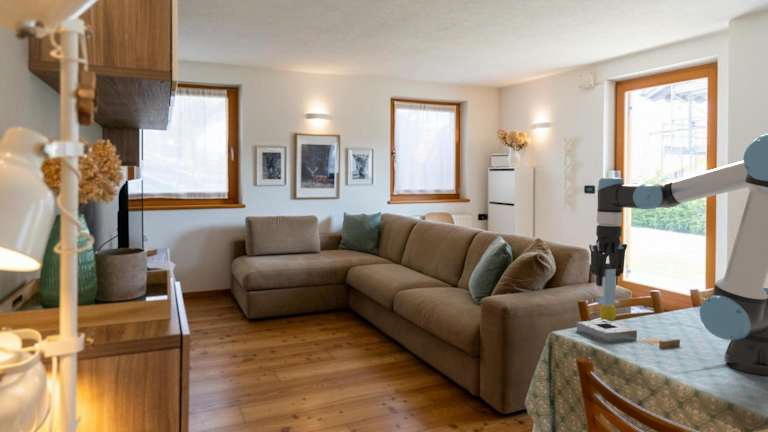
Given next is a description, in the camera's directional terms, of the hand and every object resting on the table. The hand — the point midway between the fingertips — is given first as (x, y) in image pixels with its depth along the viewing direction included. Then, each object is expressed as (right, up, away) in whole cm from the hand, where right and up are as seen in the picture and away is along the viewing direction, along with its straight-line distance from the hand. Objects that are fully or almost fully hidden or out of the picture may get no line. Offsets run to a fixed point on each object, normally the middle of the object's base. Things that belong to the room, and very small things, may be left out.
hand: (606, 295), depth 170 cm
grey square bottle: (0, -3, 0) cm, 3 cm away
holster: (+13, -15, -8) cm, 21 cm away
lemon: (+8, -13, +18) cm, 24 cm away
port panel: (0, -14, +1) cm, 14 cm away
